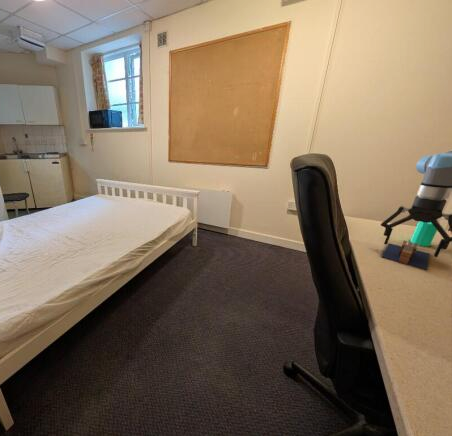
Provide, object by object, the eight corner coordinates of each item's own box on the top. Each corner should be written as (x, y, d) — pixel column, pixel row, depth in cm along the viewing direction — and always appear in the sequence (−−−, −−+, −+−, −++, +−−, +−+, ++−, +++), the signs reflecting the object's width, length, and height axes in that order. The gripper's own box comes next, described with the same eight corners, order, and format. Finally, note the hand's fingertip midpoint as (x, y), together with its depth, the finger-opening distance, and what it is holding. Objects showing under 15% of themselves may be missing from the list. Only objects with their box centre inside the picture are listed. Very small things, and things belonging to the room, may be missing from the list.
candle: (411, 239, 104) (421, 215, 100) (430, 243, 100) (442, 219, 95) (409, 242, 101) (420, 218, 96) (429, 247, 96) (441, 222, 92)
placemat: (388, 244, 100) (389, 243, 99) (428, 254, 91) (429, 253, 91) (381, 257, 89) (381, 256, 89) (426, 270, 80) (426, 269, 80)
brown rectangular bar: (410, 264, 83) (414, 254, 81) (395, 260, 86) (399, 250, 84) (413, 253, 91) (418, 243, 89) (400, 249, 94) (403, 240, 92)
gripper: (488, 202, 73) (459, 258, 80) (385, 190, 91) (369, 236, 99) (491, 207, 69) (460, 265, 76) (382, 193, 87) (366, 241, 94)
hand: (409, 249), depth 87 cm, fingers open, 13 cm apart
